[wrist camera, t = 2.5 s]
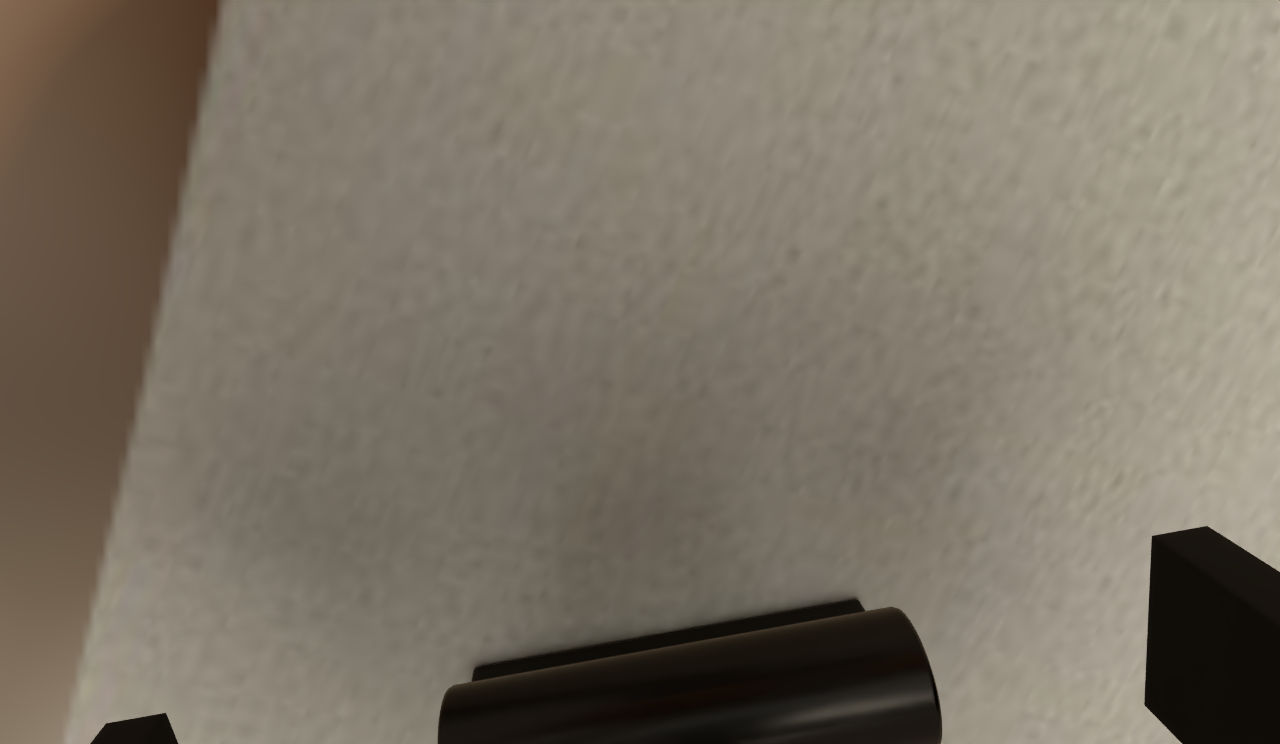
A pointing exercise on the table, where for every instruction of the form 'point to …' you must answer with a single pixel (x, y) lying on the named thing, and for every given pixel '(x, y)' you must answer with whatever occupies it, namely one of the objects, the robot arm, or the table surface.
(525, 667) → the bracket
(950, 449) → the table surface
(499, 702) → the lever
